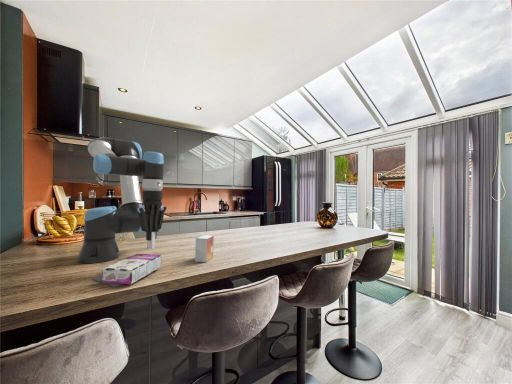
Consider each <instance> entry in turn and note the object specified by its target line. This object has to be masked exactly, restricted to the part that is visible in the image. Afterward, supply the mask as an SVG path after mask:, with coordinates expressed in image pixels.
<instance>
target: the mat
mask: <svg viewBox="0 0 512 384" xmlns="http://www.w3.org/2000/svg"><path fill="white" fill-rule="evenodd" d="M153 274H154V271H153V272H151V273H149V274H148V275H146V276H144V277H148V276H150V275H153ZM144 277H143V278H144ZM102 278H103V277H102V275H100V276H96V277H93V278H92V281H96V282H99V283H101V284H104V285H107V286H111V287H113V288H117V287H120V286H123V285H124V284H121V283H107V282H102Z"/></svg>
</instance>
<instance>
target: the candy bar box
mask: <svg viewBox="0 0 512 384" xmlns="http://www.w3.org/2000/svg"><path fill="white" fill-rule="evenodd" d="M161 267H162V255H161V254H147V253H136V254H134V255H130V256H129V257H126V258H123V259H121V260H118V261H117V262H115V263H112V264H110V265H107V266H105V267H103V268H101V272H102V273H101V274H102V275H101V276H102V277H103V278H102V282H107V283H121V284H123V285H133V284H134V283H136V282H138V281H140V280H141V279H143V278H144V276H145V277H147V276H149V275H148V274H149V273H151V272H153V273H154V271H156V270H158V269H160V268H161ZM146 275H147V276H146Z"/></svg>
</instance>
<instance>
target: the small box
mask: <svg viewBox="0 0 512 384" xmlns="http://www.w3.org/2000/svg"><path fill="white" fill-rule="evenodd" d="M214 238H215V236H214V235H205V234H204V235H200V236H198V237H196V238H195V246H194V247H195V250H194V251H195V253H194V254H195V255H194V256H195V257H194V258H195V259H194V262H196V263H197V262H198V263H199V262H200V263H202V262H203V263H207V262H209V261H210V260H212V259H213V258H214V243H215V242H214V240H215V239H214Z"/></svg>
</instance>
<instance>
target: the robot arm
mask: <svg viewBox="0 0 512 384" xmlns="http://www.w3.org/2000/svg"><path fill="white" fill-rule="evenodd" d="M87 151H88V153H89V155H90V156H91V157H92V158H93V161H92V163H93V165H92V166H93V167H92V169H93V172H94V173H95V174H101V175H111V176H112V175H114V176H119V179H120V181H119V182H120V191H121V201H122V203H121V204H120V205H119V208H118V207H116V206H115V205H113V206H112V205H109V206H100V207H95V208H89V209H87V210H86V211H85V212H84V218H83V222H84V229H83V232H84V233H83V244H82V246H81V249H80V251H79V253H78V255H77V256H78V257H77V262H79V263H80V264H96V263H104V262H108V261H112V260H115V259H118V258H119V256H120V249H119V247H118V244H117V241H116V235H117V234H127V233H128V234H129V233H139V232H143V233H145V234H146V235H145V240H146V243H147V247H146V248H147V249H149V250H150V249H155V248H156V240H157V234H158V232H159V231H160V230H161V229H162V226H163V222H164V216H165V212H166V210H167V206H164V205H163V203H162V200H163V197H164V196H163V193H164V192H163V191H162V190H163V187H164V164H165V161H164V154H163V153H161V152H157V151H144V152H143V149H142V147H141V145H140V144H139V143H138V142H135V141H133V140H125V139H119V138H114V137H113V138H112V137H105V136H103V137H98V138H94V139H92V140H90V141H89V143H88V145H87ZM139 177H140V178H142V183H141V184H142V186H141V187H142V190H143V191H142V192H141V188H140V180H139V179H140V178H139Z"/></svg>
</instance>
